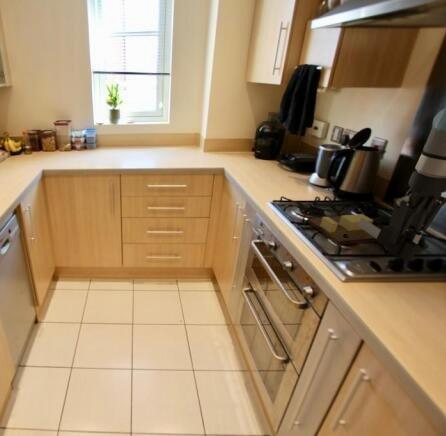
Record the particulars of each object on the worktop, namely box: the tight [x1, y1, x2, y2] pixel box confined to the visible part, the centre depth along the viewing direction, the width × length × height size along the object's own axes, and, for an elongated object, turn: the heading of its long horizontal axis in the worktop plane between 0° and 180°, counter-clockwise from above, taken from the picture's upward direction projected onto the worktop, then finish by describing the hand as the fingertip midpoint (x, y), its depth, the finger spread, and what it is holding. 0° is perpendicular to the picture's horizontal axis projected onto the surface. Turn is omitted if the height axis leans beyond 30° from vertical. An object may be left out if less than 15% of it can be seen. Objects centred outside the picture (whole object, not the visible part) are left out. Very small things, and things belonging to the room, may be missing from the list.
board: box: [306, 215, 382, 246], centre depth 112 cm, size 16×20×2 cm
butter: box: [339, 213, 374, 231], centre depth 111 cm, size 5×8×4 cm, turn 96°
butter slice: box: [320, 216, 338, 232], centre depth 110 cm, size 5×2×4 cm, turn 6°
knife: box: [358, 218, 421, 262], centre depth 92 cm, size 18×2×5 cm, turn 6°
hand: (395, 252), depth 89 cm, fingers closed on knife, 2 cm apart
